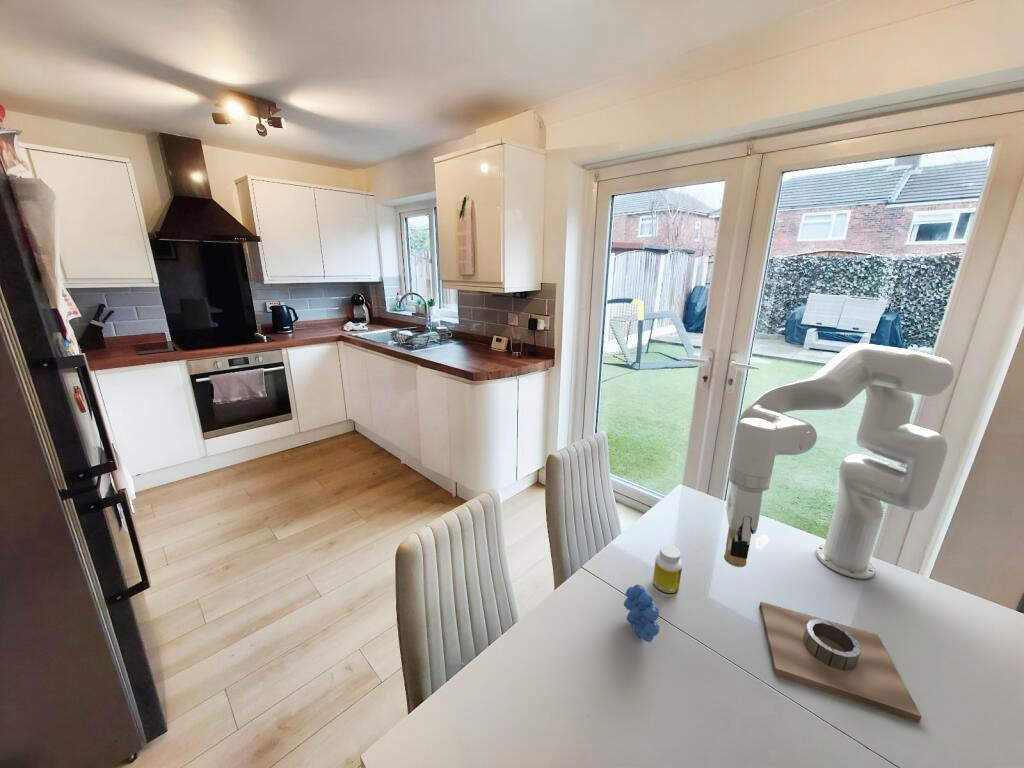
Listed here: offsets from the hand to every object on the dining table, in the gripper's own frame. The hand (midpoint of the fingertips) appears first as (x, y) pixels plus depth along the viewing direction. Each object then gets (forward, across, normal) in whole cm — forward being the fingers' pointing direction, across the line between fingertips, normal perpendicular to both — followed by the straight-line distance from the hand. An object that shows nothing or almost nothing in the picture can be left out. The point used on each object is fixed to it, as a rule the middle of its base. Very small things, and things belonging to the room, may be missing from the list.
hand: (737, 548), depth 88 cm
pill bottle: (+17, -1, -14) cm, 22 cm away
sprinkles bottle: (+4, 0, 0) cm, 4 cm away
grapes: (+17, +15, -18) cm, 29 cm away
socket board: (+17, +5, +18) cm, 26 cm away
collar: (+16, +5, +18) cm, 25 cm away
